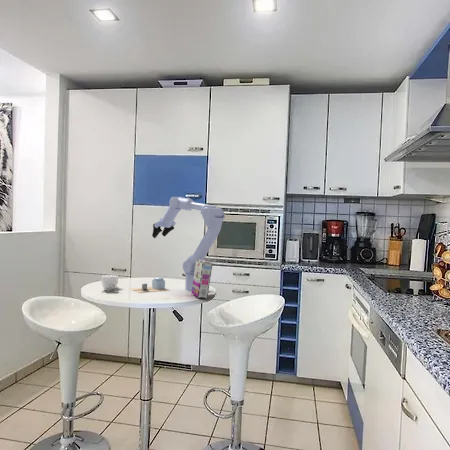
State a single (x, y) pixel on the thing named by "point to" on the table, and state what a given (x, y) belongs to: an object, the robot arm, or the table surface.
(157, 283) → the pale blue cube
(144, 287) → the post
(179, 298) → the table surface
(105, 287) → the cup
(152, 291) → the post board
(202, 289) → the candy bar box
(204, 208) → the robot arm
